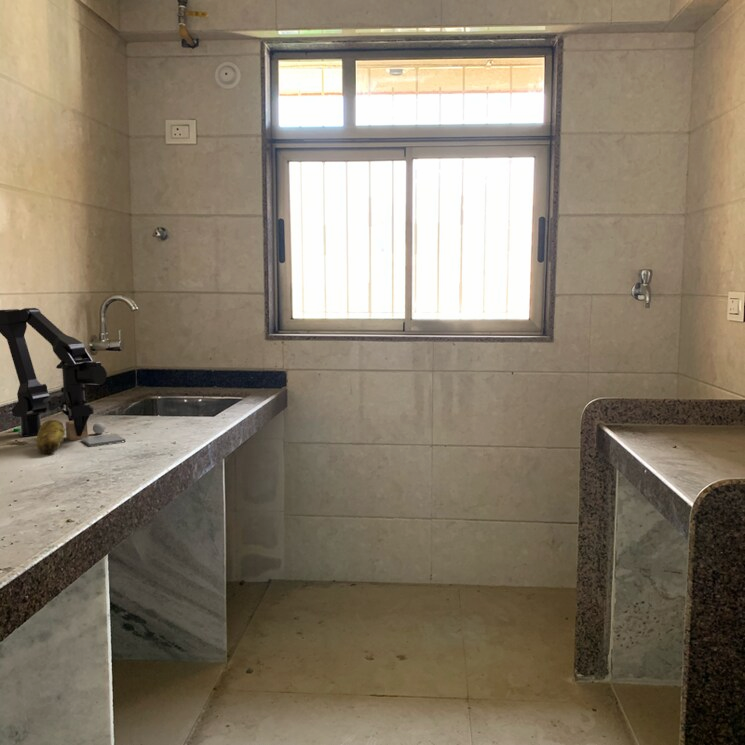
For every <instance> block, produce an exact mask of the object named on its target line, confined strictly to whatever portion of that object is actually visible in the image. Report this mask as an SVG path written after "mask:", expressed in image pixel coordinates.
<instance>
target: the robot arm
mask: <svg viewBox="0 0 745 745" xmlns="http://www.w3.org/2000/svg"><path fill="white" fill-rule="evenodd" d="M27 324H28V325H29V326H30V327H31V328H32V329H33V330H34V331H35V332H37V333H38V334H39V335H40V336H41V337H42V338H43V339H45V340H46V341H47V342H48V343H49V344H50V346H52V351H53V353H54V354H55V356H57V358H58V359H59V360H60V363H58V364H57V365H56V366H55V368H56V369H61V371H62V386H61V387H60V392H58V393H56V394H53V395H50V394H49V391H48V386H47V384H46V383H41V382H40V381H38V378H37V375H36V371H35V369H34V365H33V360H32V358H31V355H30V351H29V348H28V345H27V341H26V337H25V334H26V331H27V328H28V325H27ZM0 334H1V335H2V336H3V338H4V339H5V340H6V342H7V344H8V348H9V351H10V354H11V355H10V356H11V359H12V361H13V362H12V363H13V365H14V369H15V372H16V375H17V379H18V381H19V386H18V389H17V394H16V396H17V402H16V404H15V405H14V406H13V407H12V409H11V412H12V415H13V416H12V417H15V418H18V417H19V420H20V421H19V422H20V431H19V432H18V435H19V436H21V437H30V436H37V435H38V431H39V429H40V427H41V425H42V422H41V414H45V413H47V411H49V412H52V411H55V410H56V409H59V410H60V412H62V414H64V415H65V416H66V417H67V420H68V421H73V422H74V426H75V430H76V434H77V436H81V435H82V432H83V430H84V427H85V425H86V423H87V424H88V420H89V418H90V416H91V415H93V414H95V413H94V412H95V411H94V406H92V405H91V404H90V403H88V400H86V397H85V394H86V393H85V391H87V388H86V386H85V385H95V386H101V385H103V384H105V382H106V380H107V377H108V374H107V373H108V372H107V370H106V369H105V367H104V366H103V365H102V361H94V360H93V358H92V356H91V355H90V354H89V352H88V350H87V349H86V346H85V344H84V343H83V342H82V341H81V340H79V339H77V338H75V337H73V336H70V335H67V334H65V333H64V332H63V331H62V330H61V329H60V328H58V327H57V326H56V325H55V324H54V323H53V322H52V321H50V319H49V318H47V317H46V316H45V315H44V314H43V313H42V312H41V310H40V309H39V308H36V307H24V308H23V309H19V308H14V309H13V308H11V309H0Z"/></svg>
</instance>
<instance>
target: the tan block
mask: <svg viewBox="0 0 745 745" xmlns="http://www.w3.org/2000/svg"><path fill="white" fill-rule="evenodd" d="M88 435H89V432H88V422H87V423H86V425H85V427H84V430H83V432H82V435H81V436H77V434H76V430H75V426H74V422H73V421H69V420H68V421H67V420H66V421H65V436H66V437H65V438H67V439H68V440H69V441H70V440H71V441H77V439H79V440H81V438H86V437H89V436H88Z"/></svg>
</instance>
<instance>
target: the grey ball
mask: <svg viewBox="0 0 745 745" xmlns="http://www.w3.org/2000/svg"><path fill="white" fill-rule="evenodd" d="M105 426H106V425H105V424H104V423H103V422H96V423H94V424H93V426H92V431H93V432H94V433H95V434H97V435H101V434H103V433H104V432H105V430H106V427H105Z"/></svg>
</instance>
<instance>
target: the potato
mask: <svg viewBox="0 0 745 745" xmlns="http://www.w3.org/2000/svg"><path fill="white" fill-rule="evenodd" d="M65 434H66V429H65V428H64V424H63V422H61V421H59V420H56V419H49V420H46V421H45V422H43V423H41V427H40V429H39V431H38V435H36V448H37V450H38V451H39V452H40V453H42V454H48V455H50V454H53V453H55V452H56V451H58V450H59V448H60V445H61V444H62V443H63V442H62V440H63V438H64V436H65ZM61 442H62V443H61Z"/></svg>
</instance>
